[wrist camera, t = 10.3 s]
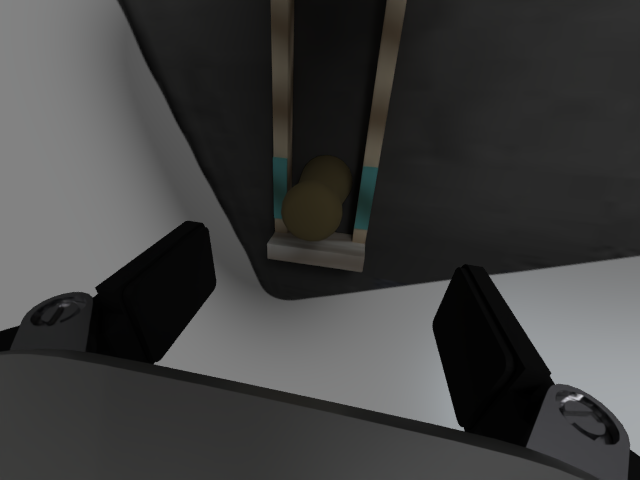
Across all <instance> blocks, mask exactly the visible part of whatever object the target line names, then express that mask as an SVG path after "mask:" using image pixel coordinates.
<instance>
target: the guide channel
mask: <svg viewBox="0 0 640 480" xmlns="http://www.w3.org/2000/svg"><path fill="white" fill-rule="evenodd" d="M406 2H407V0H387V2H386V9H385V16H384V23H383V30H382V37H381V44H380V50H379V57H378V64H377V71H376V78H375V85H374V92H373V99H372V106H371V113H370V120H369V127H368V134H367V141H366V148H365V155H364V162H363V169H362V176H361V183H360V189H359V196H358V203H357V210H356V217H355V224H354V231H353V235H352V234H344V233H337V232H334V233H333V234H332V235H331V236H329V237H328V238H326V239H324V240H321V241H315V242H309V241H305V240H301V239H299V238H297V237H296V236H294V235H293V234H292V233H291V232H290V231H289V230H288V229H287V228H286V226H285V224H284V223H283V220H282V215H281V208H282V201H283V199H284V197H285V195H286V193H287V192H288V191H289V190H290V189H291V188H292V126H293V54H294V0H271V41H272V94H273V146H274V157H273V190H274V218H275V233H274V234H273V236H272V237H271V239H270V240H269V242H268V243H267V255H268V259H274V260H281V261H288V262H295V263H302V264H309V265H316V266H323V267H330V268H337V269H343V270H350V271H357V272H362V270H363V264H364V258H365V240H366V234H367V230H368V224H369V218H370V212H371V207H372V201H373V195H374V189H375V183H376V178H377V172H378V165H379V159H380V153H381V147H382V141H383V136H384V130H385V124H386V118H387V112H388V107H389V101H390V95H391V89H392V83H393V78H394V72H395V66H396V60H397V54H398V48H399V43H400V37H401V31H402V25H403V19H404V14H405V8H406Z"/></svg>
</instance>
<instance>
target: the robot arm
mask: <svg viewBox="0 0 640 480" xmlns="http://www.w3.org/2000/svg"><path fill="white" fill-rule="evenodd" d="M215 286H216V276H215V269H214V263H213V256H212V250H211V243H210V236H209V230H208V228H206V227H205V226H204V224H203V223H199V222H193V221H185V222H184V223H182V224H181V225H180V226H178V227H177V228H176V229H174V230H173V231H172V232H170V233H169V234H167V235H166V236H165V237H163V238H162V239H161V240H159V241H158V242H157V243H155V244H154V245H153V246H151V247H150V248H148V249H147V250H146V251H144V252H143V253H142V254H140V255H139V256H137V257H136V258H135V259H134V260H132V261H131V262H129V263H128V264H127V265H125V266H124V267H122V268H121V269H120V270H118V271H117V272H116V273H114V274H113V275H112V276H110V277H109V278H107V279H106V280H105V281H103V282H102V283H101V284H99V285H98V286H97V287H95V288H96V290H97V293H98V294H97V295H96V296H95V297H93V298H92V296H90V295H89V294H87V293H83V292H72V293H66V294H61V295H58V296H55V297H52V298H50V299H47V300H45V301H43V302H41V303H40V304H38V305H36V306H35V307H33V308H32V309H31V310H30V311H29V312H28V313H27V314H26V315H25V316H24V318H23V320H22V322H21V324H20V326H17V327H13V328H10V329H6V330H3V331H0V480H640V456H638V455H637V454H635V453H634V452H633V451H631V450H630V442H629V437H628V434H627V432H626V431H625V429H624V427H623V425H622V424H621V423H620V421H619V420H618V419H617V418H616V416H615V415H614V414H613V413H612V412H611V411H610V410H609V409H608V408H606V407H605V406H604V405H603V404H602V403H601V402H599V401H598V400H596V399H595V398H593V397H592V396H591V395H589V394H587V393H585V392H583V391H582V390H580V389H578V388H575V387H572V386H569V385H563V384H556V385H555V384H554V382H553V381H552V379H551V377H550V374H551V372H550V371H549V369H548V368H547V366H546V364H545V363H544V361H543V360H542V358H541V357H540V355H539V353H538V352H537V350H536V349H535V347H534V346H533V344H532V342H531V341H530V339H529V338H528V336H527V335H526V333H525V332H524V330H523V328H522V327H521V325H520V324H519V322H518V321H517V319H516V317H515V316H514V314H513V313H512V311H511V310H510V308H509V307H508V305H507V303H506V302H505V300H504V299H503V297H502V296H501V294H500V292H499V291H498V289H497V288H496V286H495V285H494V283H493V282H492V280H491V278H490V277H489V275H488V274H487V272H486V271H485V269H484V268H483V267H479V266H473V265H466V264H465V265H463V266H462V267H461V268H460V267H458V268H457V269H456V270H455V272H454V275H453V277H452V279H451V281H450V284H449V286H448V288H447V290H446V293H445V295H444V297H443V300H442V302H441V304H440V306H439V309H438V311H437V313H436V315H435V317H434V320H433V332H434V336H435V339H436V343H437V347H438V351H439V354H440V358H441V362H442V365H443V370H444V373H445V377H446V381H447V384H448V388H449V392H450V396H451V400H452V403H453V407H454V410H455V414H456V418H457V421H458V424H459V425H460V426H461V427H464V430H465V432H464V431H459V430H456V429H451V428H447V427H443V426H439V425H434V424H430V423H425V422H420V421H416V420H412V419H407V418H402V417H398V416H394V415H389V414H384V413H380V412H375V411H371V410H366V409H362V408H357V407H352V406H348V405H343V404H339V403H334V402H329V401H325V400H320V399H315V398H310V397H306V396H301V395H297V394H291V393H287V392H283V391H278V390H273V389H269V388H263V387H259V386H254V385H249V384H245V383H240V382H236V381H230V380H226V379H221V378H216V377H211V376H207V375H202V374H197V373H192V372H187V371H183V370H178V369H173V368H168V367H163V366H158V365H154V363H155V362H158V361H159V360H161V359H162V358H163V356H164V355H165V353H166V352H167V351H168V349H169V348H170V347H171V346H172V344H173V343H174V342H175V340H176V339H177V338H178V336H179V335H180V334H181V332H182V331H183V330H184V329H185V327H186V326H187V325H188V323H189V322H190V321H191V319H192V318H193V317H194V316H195V314H196V313H197V311H198V310H199V309H200V307H201V306H202V305H203V303H204V302H205V301H206V300H207V298H208V297H209V296H210V294H211V293H212V292H213V291H214V289H215Z"/></svg>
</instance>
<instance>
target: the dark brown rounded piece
mask: <svg viewBox="0 0 640 480" xmlns="http://www.w3.org/2000/svg"><path fill="white" fill-rule="evenodd" d="M351 188H352V175H351V172H350V170H349V168H348V166H347V165H346V164H345V163H344V162H343V161H342V160H340V159H339V158H337V157H334V156H330V155H323V156H318V157H316V158H313V159H312V160H310V161H309V162H308V163H307V164H306V166H305V167H304V169H303V171H302V174H301V177H300V180H299V183H298V184H296V185H295V186H294V187H292V188H291V189H290V190H289V191H288V192H287V193H286V195H285V197H284V199H283V201H282V208H281V215H282V220H283V223H284V224H285V226H286V228H287V229H288V230H289V231H290V232H291V233H292V234H293V235H294V236H296V237H297V238H299V239H301V240H305V241H309V242H315V241H321V240H324V239H326V238H328V237H329V236H331V235H332V234H333V233H334V232H335V231H336V229H337V228H338V227H339V225H340V222H341V218H342V214H343V213H342V204H343V202H344V201H345V199H346V198H347V196H348V195H349V193H350V192H351Z"/></svg>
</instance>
